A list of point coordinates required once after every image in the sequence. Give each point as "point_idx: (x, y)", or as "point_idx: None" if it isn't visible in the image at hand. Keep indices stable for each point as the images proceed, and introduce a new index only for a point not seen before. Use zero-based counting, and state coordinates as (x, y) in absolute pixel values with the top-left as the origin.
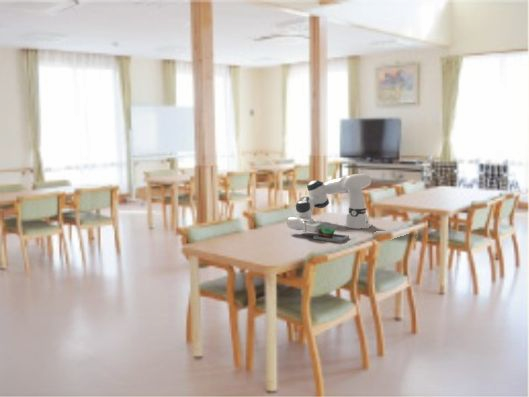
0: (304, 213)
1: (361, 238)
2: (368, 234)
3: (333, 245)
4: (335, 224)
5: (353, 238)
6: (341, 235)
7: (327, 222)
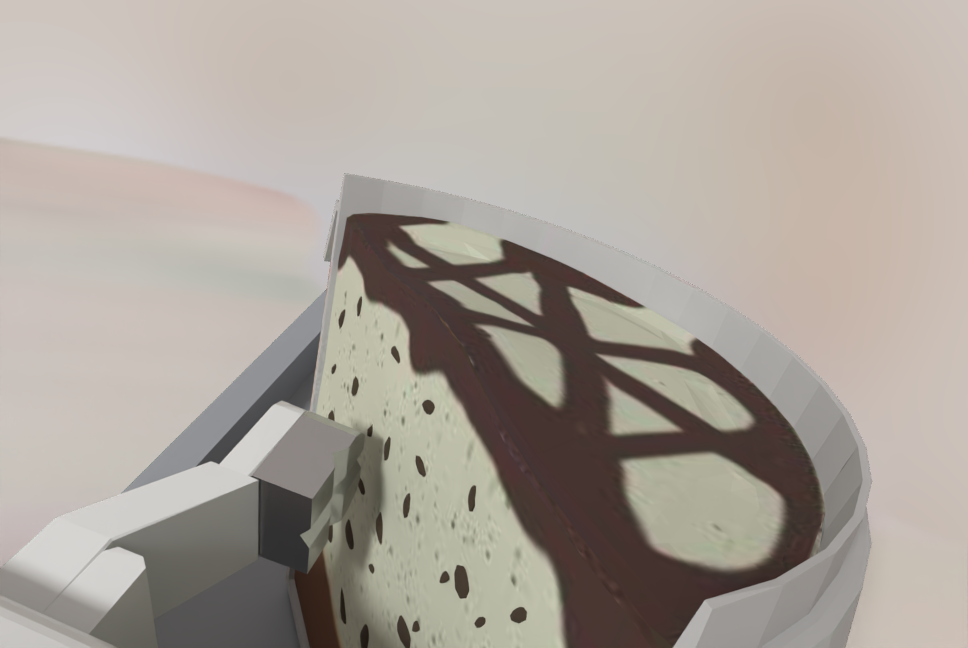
0: None
1: (294, 225)
2: (20, 142)
3: (963, 568)
4: (558, 227)
5: (301, 288)
6: (278, 382)
7: (482, 348)
